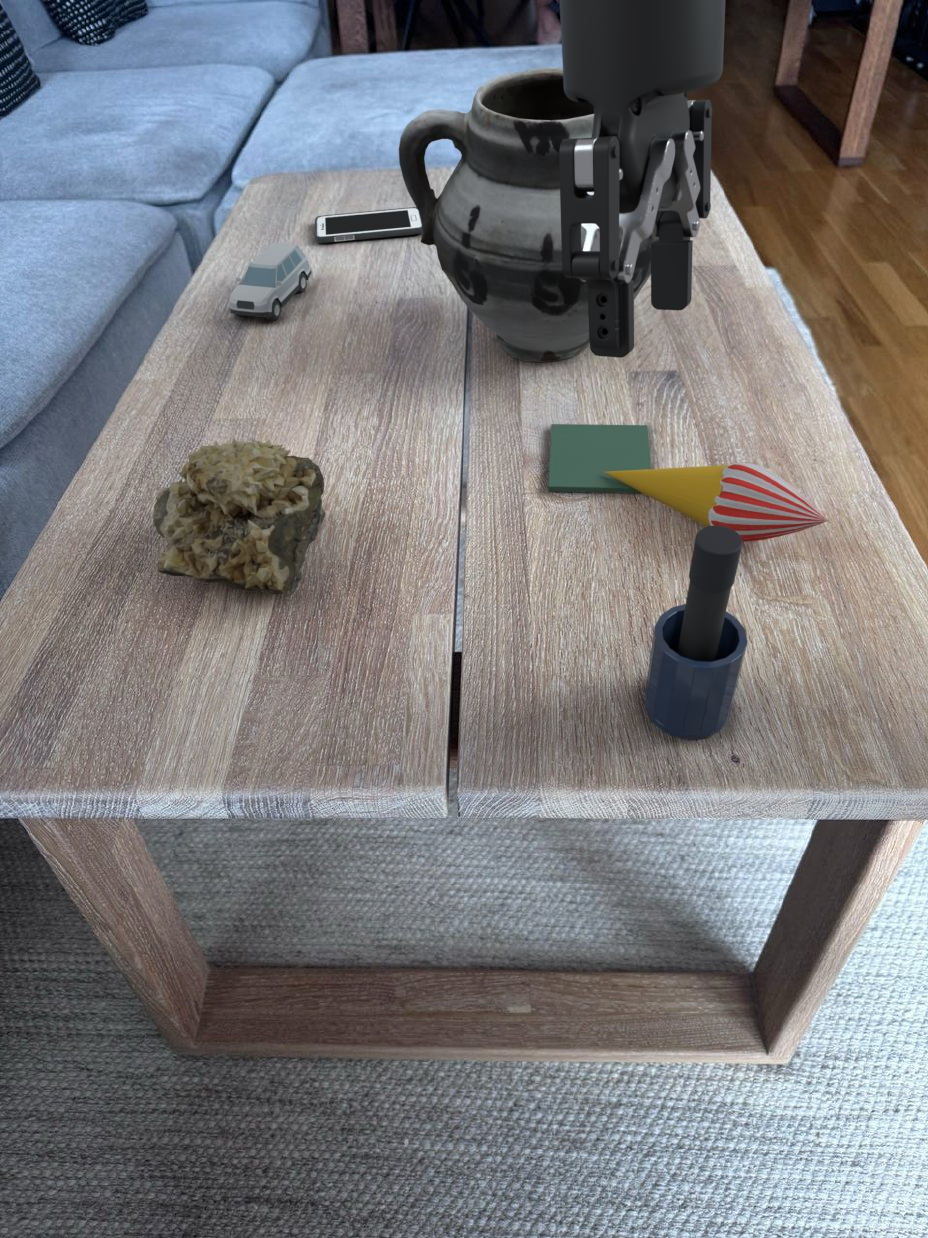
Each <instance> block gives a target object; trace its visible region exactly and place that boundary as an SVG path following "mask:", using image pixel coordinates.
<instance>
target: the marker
mask: <svg viewBox="0 0 928 1238" xmlns="http://www.w3.org/2000/svg"><path fill="white" fill-rule="evenodd" d="M694 537H695V538H694V542H693V548H692V549H693V550H692V554H691V555H692V556H691V561H690V567H689V573H688V579H689V582H688V588H687V594H686V600H685V604H686V605H685V611H684V617H683V623H682V629H681V634H680V640H679V646H678V652H677V654H679V655H680V656H682V657H685V658H688V659H691V660H694V661H706V662H713V661H715V660H716V655H717V651H718V646H719V642H720V637H721V632H722V628H723V623H724V618H725V614H726V611H727V609H728V604H729V599H730V594H731V591H732V587H733V586H734V583H735V580H736V575H737V571H738V567H739V562H740V557H741V553H742V549H743V543H744V542H742V538H741V536H740V535H739V534H738V533H737V532H736V531H734V530H733V529H730V528H728V527H724V526H708V527H706V526H704V527H702V528H701V529H700V530H698V531H697V533H696V534H695V536H694Z"/></svg>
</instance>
